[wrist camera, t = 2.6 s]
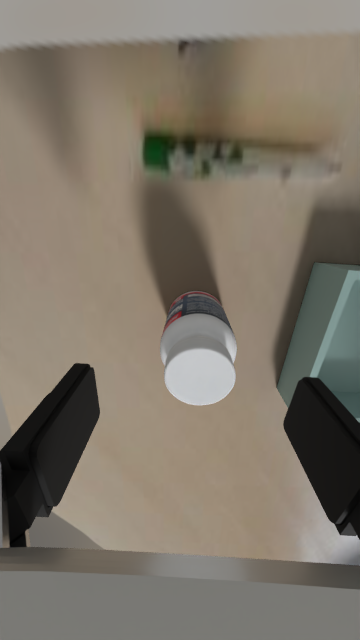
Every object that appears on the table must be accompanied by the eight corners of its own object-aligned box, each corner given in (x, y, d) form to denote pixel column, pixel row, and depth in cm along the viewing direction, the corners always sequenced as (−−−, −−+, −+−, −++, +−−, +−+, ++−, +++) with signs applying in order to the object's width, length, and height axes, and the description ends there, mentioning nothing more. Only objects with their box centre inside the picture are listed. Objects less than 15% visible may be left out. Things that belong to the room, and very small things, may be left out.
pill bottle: (175, 283, 18) (164, 323, 10) (231, 298, 19) (264, 349, 10) (162, 334, 20) (144, 402, 12) (212, 347, 21) (228, 421, 12)
